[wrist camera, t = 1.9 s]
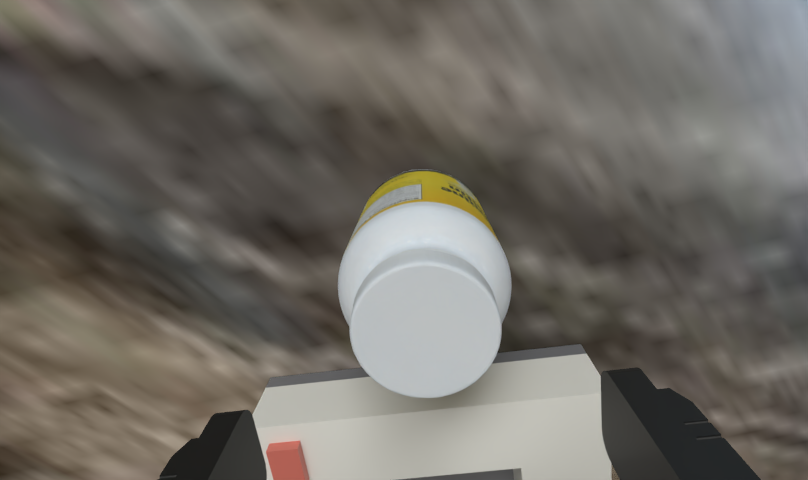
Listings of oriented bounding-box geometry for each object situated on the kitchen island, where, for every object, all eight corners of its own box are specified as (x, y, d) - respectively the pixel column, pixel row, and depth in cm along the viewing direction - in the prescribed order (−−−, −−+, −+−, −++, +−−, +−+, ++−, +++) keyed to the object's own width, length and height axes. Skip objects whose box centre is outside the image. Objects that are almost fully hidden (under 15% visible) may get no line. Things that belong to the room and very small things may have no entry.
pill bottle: (488, 276, 27) (540, 414, 16) (371, 290, 27) (340, 434, 16) (477, 157, 25) (526, 220, 14) (351, 174, 25) (300, 248, 14)
